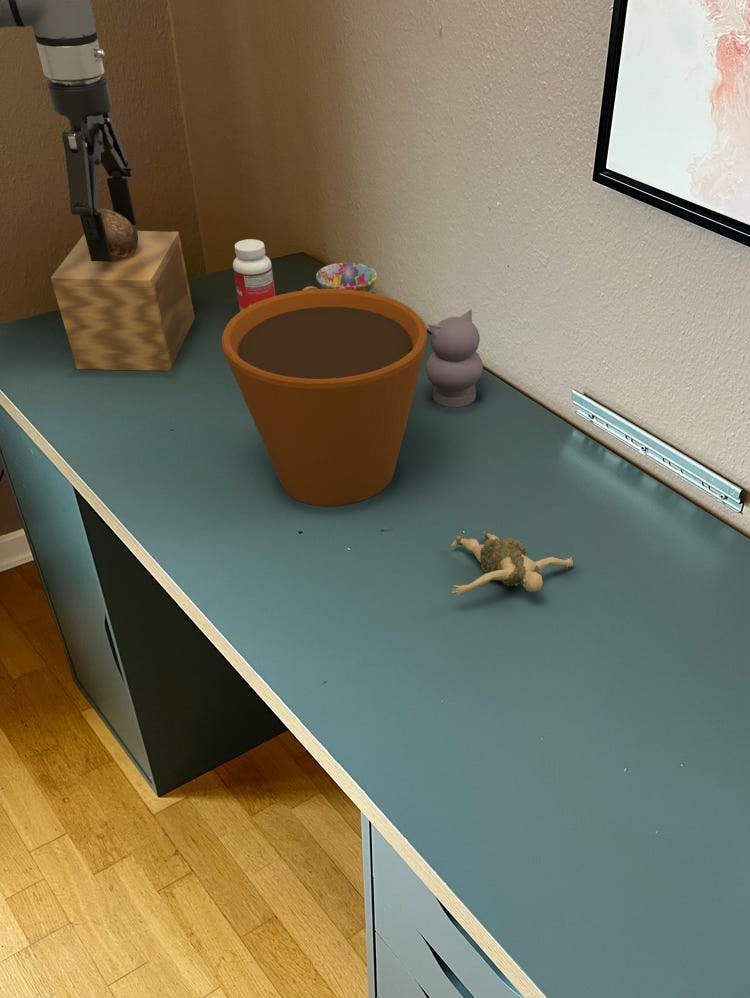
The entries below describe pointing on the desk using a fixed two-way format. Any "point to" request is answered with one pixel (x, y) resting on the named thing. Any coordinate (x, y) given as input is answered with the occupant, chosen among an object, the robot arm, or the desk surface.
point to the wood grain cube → (126, 305)
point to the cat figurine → (454, 361)
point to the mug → (346, 277)
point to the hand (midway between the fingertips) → (114, 242)
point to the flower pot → (328, 387)
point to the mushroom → (119, 233)
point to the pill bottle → (252, 273)
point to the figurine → (506, 563)
